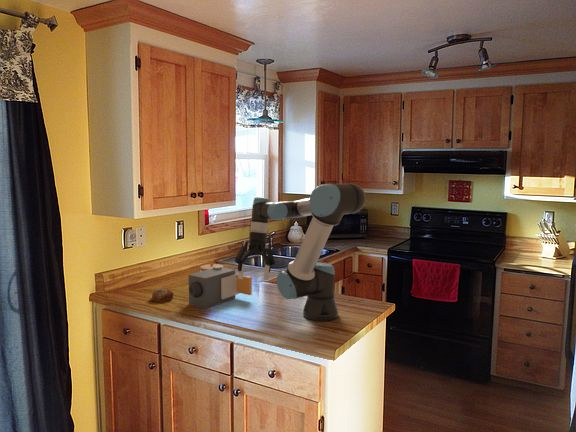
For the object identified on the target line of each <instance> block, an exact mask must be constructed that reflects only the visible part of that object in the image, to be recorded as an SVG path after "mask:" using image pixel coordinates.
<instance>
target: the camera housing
mask: <svg viewBox="0 0 576 432" xmlns="http://www.w3.org/2000/svg"><path fill="white" fill-rule="evenodd" d="M234 274H236V269H232V268H227V267H226V268H225V267H224V268H222V267H219V266H216V267H213V268H212V269H208V270H204V271H201V272H200V271H198V272H194V273H190V274H188V275H187V276H188V305H190V304H191V305H190V306H195V307H197V308H198V307H200V308H202V309H209V308H212V307H214V306H217V305H219V304H223V303H227V302H228V301H230V300H231V301H232V300H234V299H236V295H234V296H231V297H228V298H225V299H221V278H224V277H227V276H231V275H234Z"/></svg>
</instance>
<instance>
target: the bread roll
mask: <svg viewBox="0 0 576 432" xmlns="http://www.w3.org/2000/svg"><path fill="white" fill-rule="evenodd" d="M151 294H152V295H151V300H152V301H153V302H154V303H166V301H167V302H170V301H171V300H173V299H174V292H173V291H172V290H171V289H170V288H169V287H164V286H159V287H156V288H155V289H154V290H153V292H152V293H151Z"/></svg>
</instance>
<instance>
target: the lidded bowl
mask: <svg viewBox="0 0 576 432" xmlns="http://www.w3.org/2000/svg"><path fill="white" fill-rule="evenodd" d="M216 266H219V267H222V268H225V267H224V265H223V264H218V263H213V262H210V263H207V264H203V265H201V266H199V270H200V271H199V272H201V271H204V270H208V269H212V268H213V267H216Z"/></svg>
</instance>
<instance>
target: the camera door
mask: <svg viewBox="0 0 576 432" xmlns="http://www.w3.org/2000/svg"><path fill="white" fill-rule="evenodd" d="M238 275H239V273H235V274H234V275H231V276H227V277H224V278H221V299H225V298H228V297H231V296H234V295H235V296H237V295H239V294H244V295H247V296H251V295H253V294H252V293H253V290H252V289H253V287H252V286H253V284H252V283H253V282H252V281H253V280H252V276H248V275H243V279H239V278H238Z"/></svg>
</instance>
